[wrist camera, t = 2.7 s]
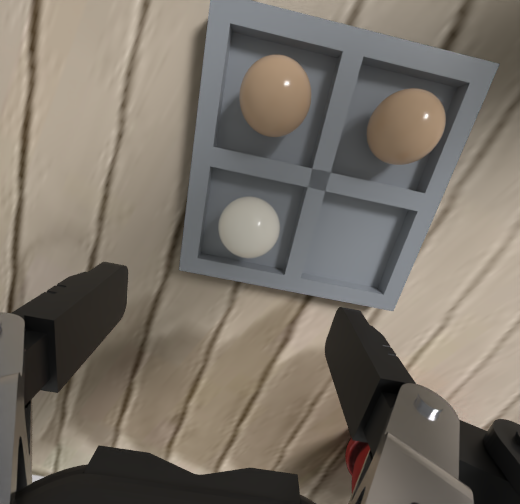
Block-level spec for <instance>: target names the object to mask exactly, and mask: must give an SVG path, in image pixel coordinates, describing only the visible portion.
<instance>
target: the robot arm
mask: <svg viewBox="0 0 520 504" xmlns="http://www.w3.org/2000/svg"><path fill="white" fill-rule="evenodd" d="M127 285H128V268H127V267H126V266H124V265H119V264H114V263H108V262H102V263H101V264H99V265H98V266H96V267H95V268H93V269H92V270H90V271H89V272H83V273H80V274H77V275H73V276H70V277H68V278H66V279H65V280H63V281H62V282H60V283H58V284H57V286H54V287H52V288H51V289H49V290H47V292H44V293H43V294H41V295H39V296H38V297H36V298H35V299H33V300H31V301H30V302H28V303H27V304H25V305H23V306H22V307H20V308H19V309H17V310H15V311H14V312H12V313H0V504H316V503H314V502H312V501H311V500H309V499H308V498H306V497H304V496H302V495H300V492H299V484H298V475H297V474H290V473H283V472H276V471H269V470H263V469H256V468H245V469H238V470H232V471H225V472H218V473H211V474H205V475H197V474H193V473H191V472H189V471H187V470H185V469H182V468H180V467H178V466H176V465H174V464H172V463H170V462H168V461H165V460H163V459H161V458H159V457H157V456H155V455H153V454H151V453H146V452H140V451H133V450H126V449H119V448H112V447H105V446H98V448H97V449H96V451H95V453H94V455H93V457H92V458H91V460H90V462H89V464H88V465H81V466H77V467H73V468H68V469H65V470H62V471H59V472H56V473H54V474H51V475H48V476H46V477H44V478H42V479H40V480H37V481H35V482H33V483H32V398H33V397H34V396H35V395H36V394H37V393H38V392H39V391H40V390H43V391H50V392H56V393H58V392H59V391H60V390H61V389H62V387H63V386H64V385H65V384H66V383H67V382H68V380H69V379H70V378H71V377H72V376H73V375H74V374H75V372H76V371H77V370H78V369H79V368H80V367H81V365H82V364H83V363H84V362H85V361H86V360H87V358H88V357H89V356H90V355H91V354H92V353H93V351H94V350H95V349H96V348H97V347H98V346H99V344H100V343H101V342H102V341H103V340H104V339H105V337H106V336H107V335H108V334H109V333H110V332H111V330H112V329H113V328H114V327H115V326H116V325H117V323H118V322H119V321H120V320H121V318H122V317H123V314H124V312H125V309H126V304H127ZM325 357H326V360H327V363H328V366H329V369H330V372H331V376H332V379H333V382H334V385H335V388H336V391H337V394H338V397H339V401H340V404H341V407H342V410H343V413H344V416H345V419H346V422H347V425H348V429H349V432H350V435H351V438H352V440H353V441H360V442H366V443H368V445H369V447H370V451H369V453H368V455H367V457H366V459H365V462H364V464H363V467H362V469H361V472H360V475H359V477H358V480H357V482H356V485H355V488H354V490H353V493H352V495H351V498H350V501H349V503H348V504H520V425H519V424H517V423H514V422H512V421H509V420H504V419H498V420H495V421H494V423H493V424H492V425H491V427H490V428H489V430H488V431H485V430H483V429H480V428H478V427H476V426H473V425H471V424H468V423H466V422H463V421H461V420H459V418H458V415H457V414H456V412H455V410H454V409H453V408H452V407H451V405H450V404H449V403H448V402H447V401H446V400H444V399H443V398H442V397H441V396H439V395H438V394H437V393H435V392H433V391H432V390H430V389H428V388H426V387H424V386H421V385H418V384H416V383H415V382H414V380H413V379H412V377H411V376H410V374H409V373H408V371H407V370H406V368H405V367H404V365H403V364H402V363H401V361H400V360H399V358H398V357H397V356H396V354H395V352H394V351H393V349H392V348H390V345H389V343H388V342H387V340H386V339H385V338H384V336H383V335H382V334H381V333H380V332H378V331H377V330H376V329H375V328H374V327H373V326H370V325H369V323H368V322H367V320H366V319H365V317H364V316H363V314H362V313H361V311H359V310H354V309H348V308H343V307H339V308H338V310H337V311H336V314H335V317H334V319H333V322H332V325H331V328H330V331H329V334H328V337H327V339H326V343H325Z"/></svg>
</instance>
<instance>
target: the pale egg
mask: <svg viewBox="0 0 520 504" xmlns="http://www.w3.org/2000/svg"><path fill="white" fill-rule="evenodd" d="M218 231H219V236H220V239H221V241H222V243H223V244H224V246H225V247H226V248H227V249H228V250H229V251H230V252H231V253H233V254H234V255H236V256H239V257H242V258H256V257H259V256H262V255H264V254H266V253H267V252H269V251H270V250H271V249H272V248H273V246H274V245H275V243H276V242H277V240H278V237H279V233H280V222H279V218H278V215H277V213H276V212H275V210H274V209H273V207H272V206H271V205H270V204H269V203H267V202H266V201H264V200H262V199H260V198H257V197H252V196H247V197H241V198H238V199H236V200H234V201H232V202H231V203H230V204H228V205H227V206H226V207H225V209H224V210H223V212H222V214H221V216H220V219H219V224H218Z"/></svg>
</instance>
